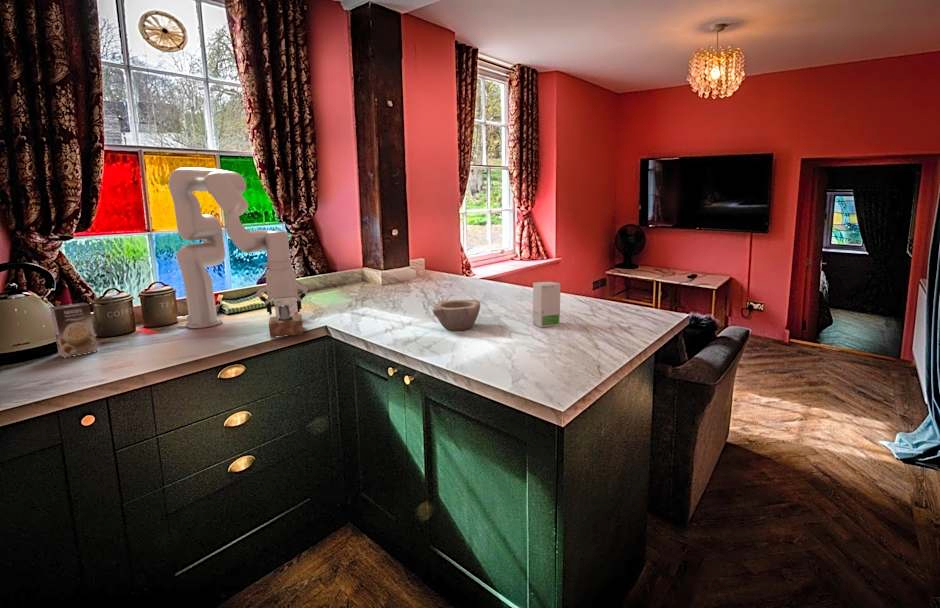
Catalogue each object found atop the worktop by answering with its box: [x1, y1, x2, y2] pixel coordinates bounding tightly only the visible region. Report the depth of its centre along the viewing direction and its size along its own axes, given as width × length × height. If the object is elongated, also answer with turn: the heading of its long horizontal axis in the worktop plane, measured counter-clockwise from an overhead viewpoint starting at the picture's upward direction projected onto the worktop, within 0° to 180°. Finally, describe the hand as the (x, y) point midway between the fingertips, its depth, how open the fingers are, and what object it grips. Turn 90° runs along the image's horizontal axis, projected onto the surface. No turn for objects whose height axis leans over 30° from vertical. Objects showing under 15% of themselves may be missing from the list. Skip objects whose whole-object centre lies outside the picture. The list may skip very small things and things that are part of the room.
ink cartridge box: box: [273, 297, 299, 317], centre depth 196 cm, size 9×5×15 cm, turn 168°
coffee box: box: [49, 302, 99, 359], centre depth 159 cm, size 9×6×16 cm
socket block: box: [268, 313, 304, 338], centre depth 180 cm, size 11×11×5 cm
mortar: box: [432, 299, 481, 331], centre depth 180 cm, size 17×17×9 cm
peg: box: [278, 304, 290, 321], centre depth 179 cm, size 4×4×10 cm
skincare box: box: [532, 281, 561, 329], centre depth 180 cm, size 8×7×16 cm
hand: (284, 312), depth 179 cm, fingers open, 9 cm apart
